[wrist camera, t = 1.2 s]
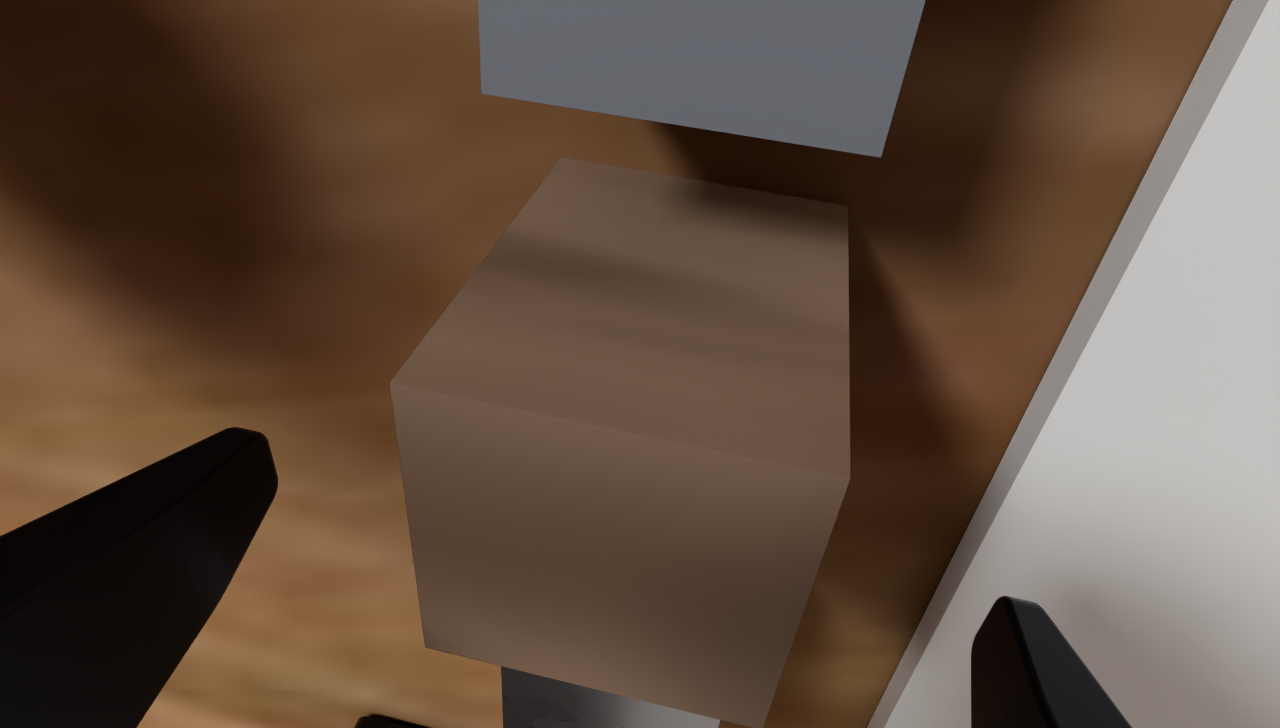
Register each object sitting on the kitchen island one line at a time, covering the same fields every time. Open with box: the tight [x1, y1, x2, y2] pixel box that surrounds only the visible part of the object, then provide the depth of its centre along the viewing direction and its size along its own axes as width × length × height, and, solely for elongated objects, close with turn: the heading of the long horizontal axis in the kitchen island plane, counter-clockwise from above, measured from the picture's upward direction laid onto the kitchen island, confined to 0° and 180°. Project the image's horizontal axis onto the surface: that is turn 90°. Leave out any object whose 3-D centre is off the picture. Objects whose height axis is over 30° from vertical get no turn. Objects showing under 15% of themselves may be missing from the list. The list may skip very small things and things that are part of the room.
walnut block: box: [390, 157, 850, 728], centre depth 11 cm, size 4×4×6 cm
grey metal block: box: [501, 666, 720, 728], centre depth 16 cm, size 4×4×4 cm
